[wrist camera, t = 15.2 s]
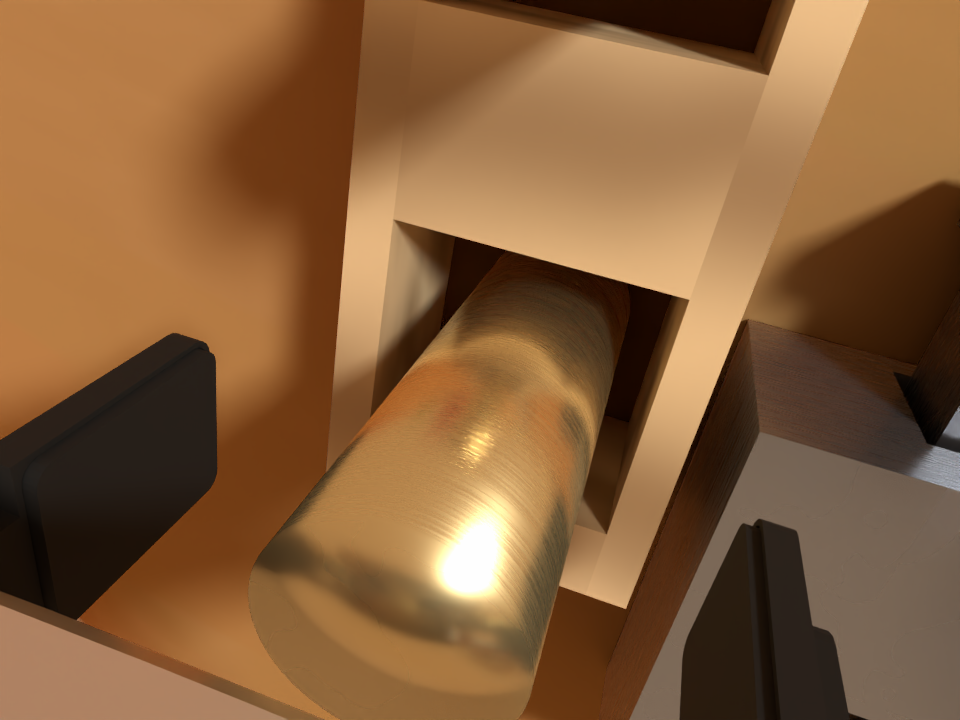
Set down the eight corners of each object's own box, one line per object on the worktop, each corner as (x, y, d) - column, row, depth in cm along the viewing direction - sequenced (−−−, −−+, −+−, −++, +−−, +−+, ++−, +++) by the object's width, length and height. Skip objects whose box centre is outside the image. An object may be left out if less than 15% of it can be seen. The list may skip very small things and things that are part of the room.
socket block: (901, 776, 24) (948, 971, 19) (606, 668, 25) (582, 823, 20) (1179, 437, 17) (1362, 610, 12) (748, 319, 18) (759, 431, 14)
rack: (643, 486, 21) (625, 608, 17) (396, 407, 23) (323, 503, 18) (994, -460, 12) (1159, -728, 7) (522, -503, 13) (426, -751, 9)
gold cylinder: (608, 385, 20) (500, 786, 10) (475, 346, 21) (246, 684, 11) (648, 255, 18) (565, 588, 8) (500, 216, 19) (249, 478, 9)
